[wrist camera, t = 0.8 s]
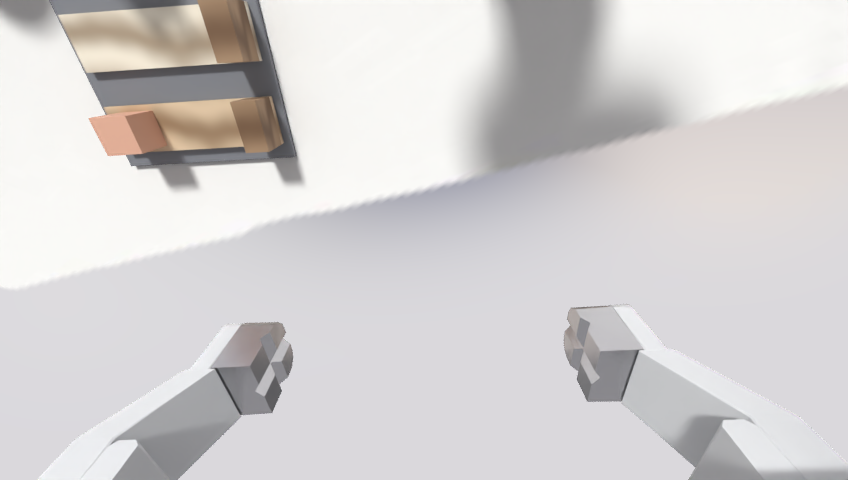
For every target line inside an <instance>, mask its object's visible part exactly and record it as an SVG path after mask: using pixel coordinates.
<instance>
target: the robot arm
mask: <svg viewBox="0 0 848 480" xmlns="http://www.w3.org/2000/svg"><path fill="white" fill-rule="evenodd" d="M567 320H568V321H569V323H570V325H571V326H570V327H569V328H568V329H567V330H566V331H565V335H564V346H565V347H564V348H565V352H566V356H567V359H568V361H569V363H570V365H571V366H572V367H573V368H575V369H576V370H578V371H579V372H578V377H577V381H578V383H579V385H580V387H581V389H582V391H583V393H584V395H585V397H586V400H587V401H588V402H591V401H592V402H593V401H622V404H623V405H624V406H626V407H627V408H628V409H629V410H630V411H631V412H632V413H634V414H635V415H636V416H637V417H638V418H639V419H640V420H642V421H643V422H644V423H645V424H646V425H647V426H649V427H650V428H651V429H652V430H653V431H654V432H655V433H657V434H658V435H659V436H660V437H661V438H662V439H663V440H665V441H666V442H667V443H668V444H669V445H670V446H671V447H673V448H674V449H675V450H676V451H677V452H678V453H680V454H681V455H682V456H683V457H684V458H685V459H686V460H688V461H689V462H690V463H691V464H692V465H693V466H694V467H696V468H695V469H694V471H693V473H692V475H691V476H690V478H689V480H848V463H847V462H846V461H845V460H844V459H842V457H841V456H840V455H839V454H838V453H837V452H836V451H835V450H833V449H832V448H831V447H830V446H829V445H828V444H827V443H826V442H825V441H824V440H823V439H822V438H821V437H820V436H819V435H818V434H817V433H816V432H815V431H814V430H813V429H812V428H811V427H810V426H809V425H808V424H806V422H804V421H803V420H802V419H801V418H800V417H799V416H798V415H796V414H794V413H792V412H790V411H788V410H787V409H785V408H783V407H781V406H779V405H777V404H775V403H774V402H772V401H770V400H768V399H766V398H764V397H762V396H760V395H759V394H757V393H755V392H753V391H751V390H749V389H747V388H746V387H744V386H742V385H740V384H738V383H736V382H734V381H733V380H731V379H728V378H727V377H725V376H723V375H721V374H720V373H718V372H716V371H714V370H712V369H710V368H708V367H706V366H705V365H703V364H701V363H699V362H697V361H695V360H693V359H692V358H690V357H688V356H686V355H684V354H682V353H680V352H678V351H676V350H675V349H667V348H666V347H665V345H664V344H663V343H662V342H661V341H660V339H659V338H658V337H657V336H656V335H655V333H654V332H653V331H652V330H651V329H650V328H649V326H648V325H647V324H646V323H645V321H644V320H643V319H642V318H641V317H640V315H639V314H638V313H637V312H636V311H635V310H634V308H633V307H632V306H630V305H628V304H623V305H609V306H597V307H578V308H571V309H570V310H569V312H568V317H567ZM285 333H286V332H285V329H284V327H283V324H281V323H279V322H271V323H270V322H269V323H245V324H227V325H225V326H223V327H222V328H221V330H220V331H219V332H218V334H217V335H216V336H215V338H214V339H213V340H212V341H211V343H210V344H209V345H208V347H207V348H206V349H205V350H204V352H203V353H202V354H201V356H200V357H199V358H198V359H197V361H196V362H195V363H194V365H193V366H192V367H191V369H190V370H183V371H182V372H180V373H178V374H177V375H175V376H174V377H172V378H171V379H169V380H167V381H166V382H164V383H163V384H161V385H160V386H158V387H156V388H155V389H153V390H152V391H150V392H149V393H147V394H145V395H144V396H142V397H141V398H139V399H138V400H136V401H134V402H133V403H131V404H130V405H128V406H127V407H125V408H124V409H122V410H120V411H119V412H117V413H116V414H114V415H112V416H111V417H109V418H108V419H106V420H105V421H103V422H102V423H100V424H98V425H97V426H95V427H94V428H92V429H91V430H89V431H87V432H86V433H84V434H83V435H81V436H79V437H78V438H76V439H75V440H74V441H73V442H72V443H71V444H70V445H69V446H68V447H67V448H66V449H65V450H64V451H63V452H62V454H61V455H60V456H59V457H58V458H57V459H56V460H55V461H54V462H53V463H52V464H51V465H50V466H49V468H48V469H47V470H46V471H45V472H44V473H43V474H42V475H41V476H40V477H39V478H38V479H37V480H178V479H179V478H180V476H182V475H183V474H184V473H185V472H186V471H187V470H188V469H189V468H190V467H191V466H192V464H194V463H195V462H196V461H197V460H198V459H199V458H200V457H201V456H202V455H203V454H204V453H205V452H206V451H207V450H208V449H209V448H210V447H211V446H212V445H213V444H214V443H215V442H216V441H217V440H218V439H219V438H220V437H221V436H222V435H223V434H224V433H225V432H226V431H227V430H228V429H229V428H230V427H231V426H232V425H233V424H234V423H235V422H236V421H237V420H238V419H239V418H240V417H241V415H250V414H265V413H272V412H273V410H274V407H275V405H276V403H277V401H278V398H279V396H280V394H281V392H282V390H281V387H280V383H281V382H283V381H284V380H285V379H286V378H287V377H288V375H289V373H290V371H291V368H292V362H293V352H292V348H291V345H290V343H288V342H287V341H286V340H284V339H283V337H284V335H285Z"/></svg>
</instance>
